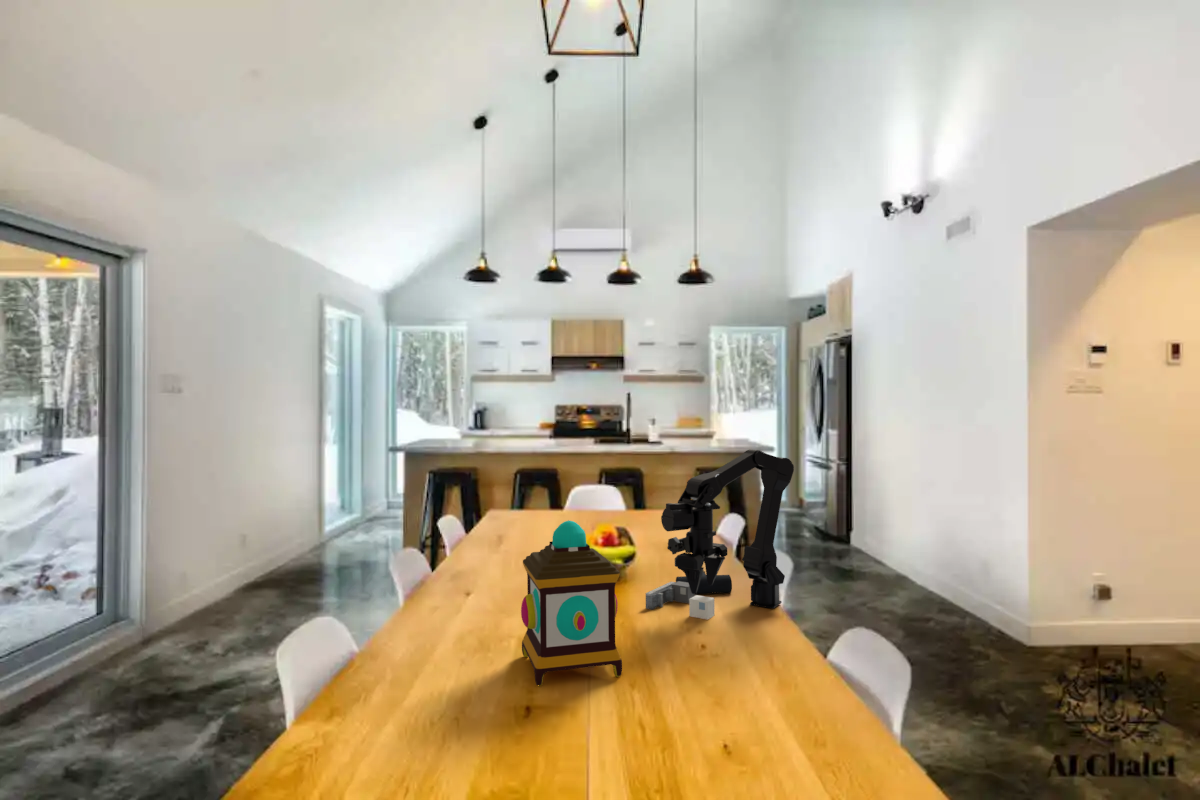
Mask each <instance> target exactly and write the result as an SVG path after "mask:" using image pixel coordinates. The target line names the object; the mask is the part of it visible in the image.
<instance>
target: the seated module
mask: <svg viewBox="0 0 1200 800" xmlns="http://www.w3.org/2000/svg"><path fill="white" fill-rule="evenodd" d="M675 582H676V581H675ZM672 588H674V601H673V602H677V603H684V604H689V599H690V598H692V597H694V596H696V594H692V592H691V589H690V586H689V583H687V582H681V581H678V582H676V583H673V584H672Z"/></svg>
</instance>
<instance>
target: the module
mask: <svg viewBox="0 0 1200 800" xmlns="http://www.w3.org/2000/svg"><path fill="white" fill-rule="evenodd" d="M688 604H689V605H688V607H689V610H688V611H689V612H688V613H689V617H692V618H696V619H702V620H709V619H711V618H713V617H714V616H715V597H712V596H711V597H710V596H704V595H700V594H695V596H694V597H692V598H690V599H689V603H688Z"/></svg>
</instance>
